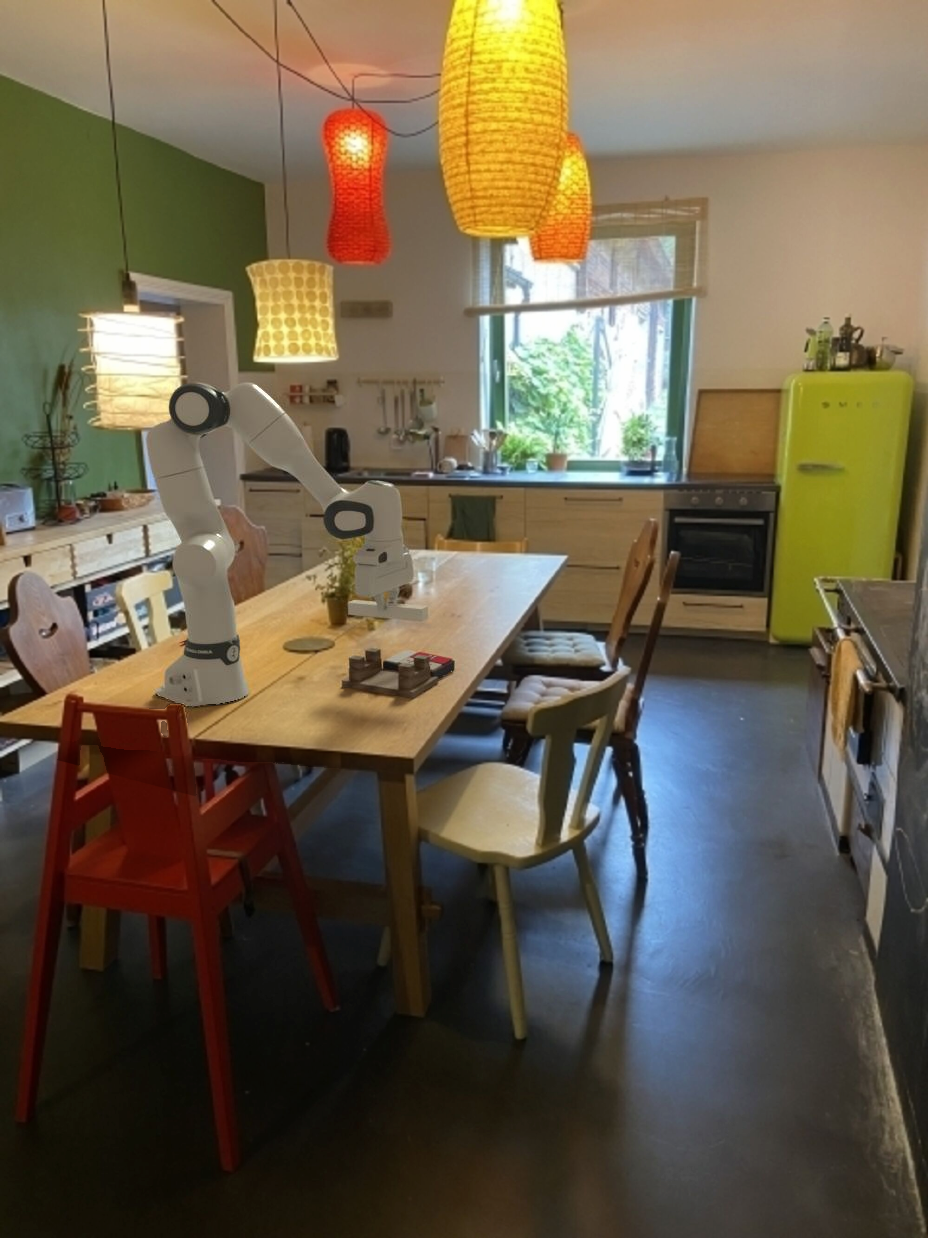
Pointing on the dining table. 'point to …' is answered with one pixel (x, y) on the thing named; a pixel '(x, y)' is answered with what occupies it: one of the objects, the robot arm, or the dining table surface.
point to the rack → (389, 675)
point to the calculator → (437, 663)
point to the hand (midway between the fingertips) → (387, 608)
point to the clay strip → (388, 610)
